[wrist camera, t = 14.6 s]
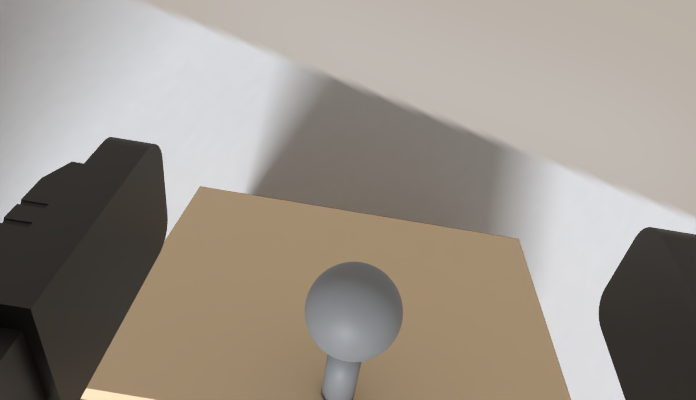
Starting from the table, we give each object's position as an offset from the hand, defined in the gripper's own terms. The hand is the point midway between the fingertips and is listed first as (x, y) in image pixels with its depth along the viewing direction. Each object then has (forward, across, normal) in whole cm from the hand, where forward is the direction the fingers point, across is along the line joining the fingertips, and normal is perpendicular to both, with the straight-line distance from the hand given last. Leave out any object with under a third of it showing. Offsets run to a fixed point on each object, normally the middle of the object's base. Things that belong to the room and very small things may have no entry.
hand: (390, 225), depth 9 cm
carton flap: (+10, 0, +13) cm, 16 cm away
